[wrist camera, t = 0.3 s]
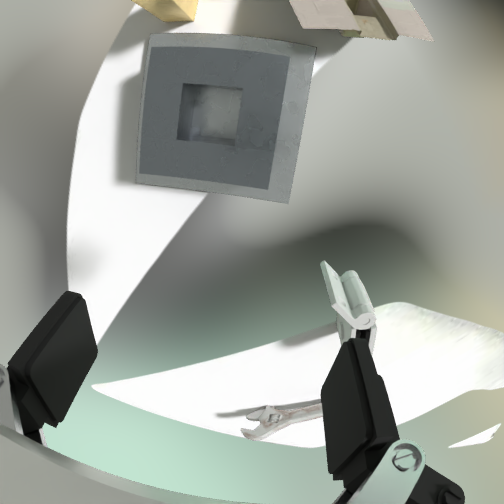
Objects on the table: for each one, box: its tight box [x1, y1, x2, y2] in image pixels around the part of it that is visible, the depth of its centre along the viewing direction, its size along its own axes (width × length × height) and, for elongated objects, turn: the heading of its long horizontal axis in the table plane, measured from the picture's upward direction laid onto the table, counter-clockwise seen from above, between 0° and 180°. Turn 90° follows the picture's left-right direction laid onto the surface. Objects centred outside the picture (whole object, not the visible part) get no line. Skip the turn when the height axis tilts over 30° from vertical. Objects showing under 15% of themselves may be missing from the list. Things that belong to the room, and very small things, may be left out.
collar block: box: [136, 33, 316, 204], centre depth 30 cm, size 20×20×7 cm
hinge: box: [320, 261, 377, 355], centre depth 40 cm, size 14×5×10 cm, turn 20°
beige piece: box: [289, 0, 434, 42], centre depth 24 cm, size 16×9×15 cm
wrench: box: [241, 403, 323, 441], centre depth 55 cm, size 8×2×30 cm
